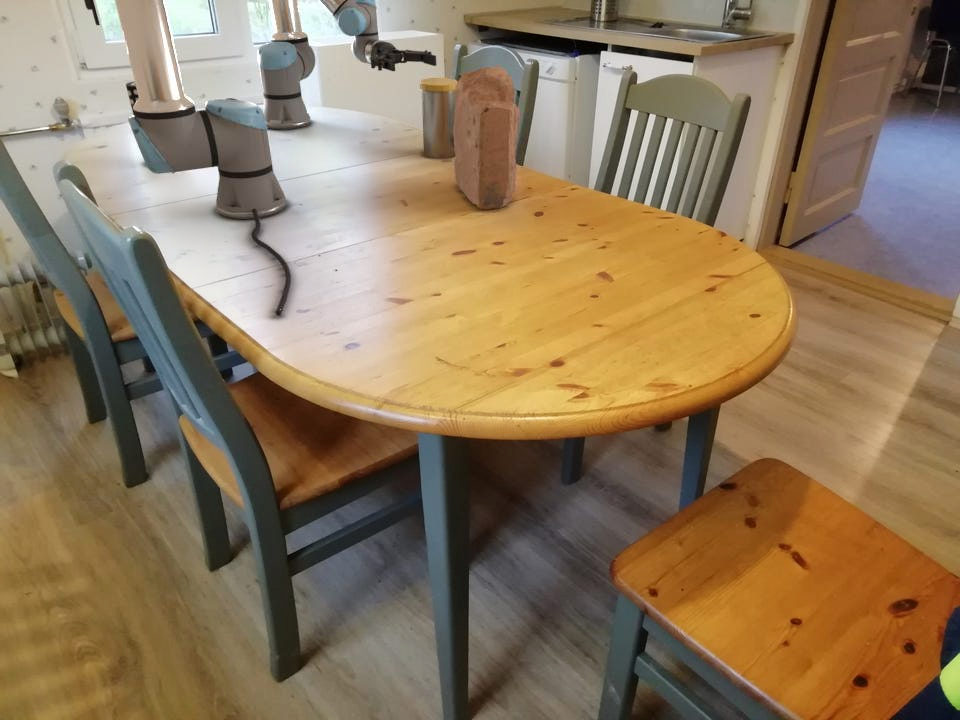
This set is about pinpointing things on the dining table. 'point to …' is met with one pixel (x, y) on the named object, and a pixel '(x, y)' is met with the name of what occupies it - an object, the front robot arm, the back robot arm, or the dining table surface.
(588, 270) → the dining table surface
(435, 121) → the jar
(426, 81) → the lid
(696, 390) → the dining table surface
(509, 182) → the stone
